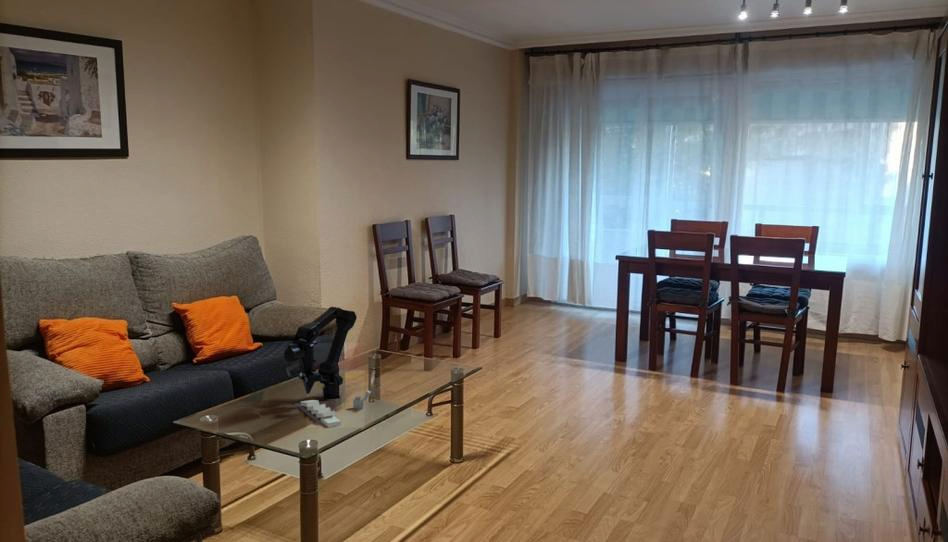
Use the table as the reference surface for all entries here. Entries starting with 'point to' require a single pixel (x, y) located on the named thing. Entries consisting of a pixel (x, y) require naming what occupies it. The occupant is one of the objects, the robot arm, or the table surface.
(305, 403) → the tile
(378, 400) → the table surface
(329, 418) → the tile
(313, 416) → the runner
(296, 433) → the table surface
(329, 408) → the tile
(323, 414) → the tile
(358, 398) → the lighter
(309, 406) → the tile
